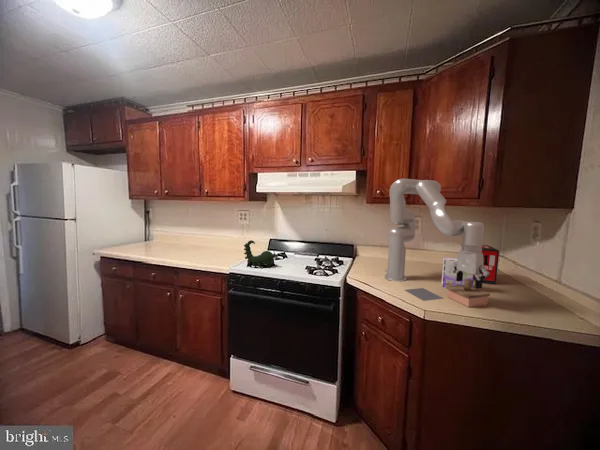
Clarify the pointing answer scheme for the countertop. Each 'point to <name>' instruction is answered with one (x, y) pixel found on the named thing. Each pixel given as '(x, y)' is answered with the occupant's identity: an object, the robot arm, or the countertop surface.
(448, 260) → the candy box
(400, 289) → the countertop surface
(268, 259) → the toy figurine
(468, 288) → the lid
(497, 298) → the countertop surface
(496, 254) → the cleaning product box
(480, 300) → the pink square tray
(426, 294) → the grey flat piece
